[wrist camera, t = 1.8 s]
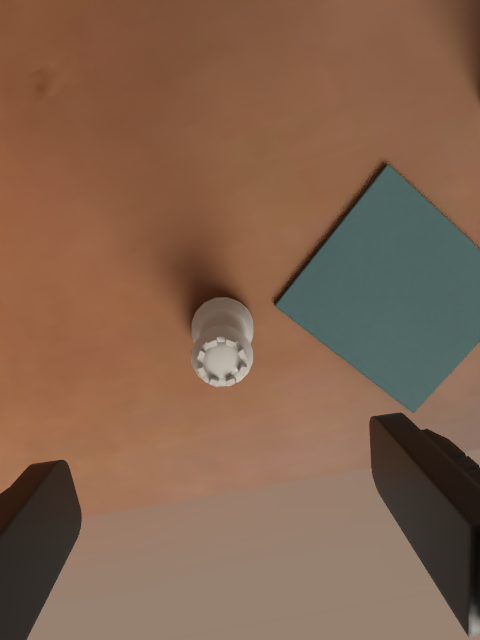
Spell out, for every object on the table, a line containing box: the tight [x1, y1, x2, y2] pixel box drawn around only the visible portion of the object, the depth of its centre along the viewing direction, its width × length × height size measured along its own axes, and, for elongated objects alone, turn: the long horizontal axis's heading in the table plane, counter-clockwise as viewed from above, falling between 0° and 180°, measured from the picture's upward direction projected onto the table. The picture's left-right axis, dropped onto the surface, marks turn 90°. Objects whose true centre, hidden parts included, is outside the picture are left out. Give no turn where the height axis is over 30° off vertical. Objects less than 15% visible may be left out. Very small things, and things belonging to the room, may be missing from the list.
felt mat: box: [275, 164, 480, 413], centre depth 24 cm, size 14×12×1 cm
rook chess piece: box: [191, 297, 253, 387], centre depth 21 cm, size 4×4×8 cm
